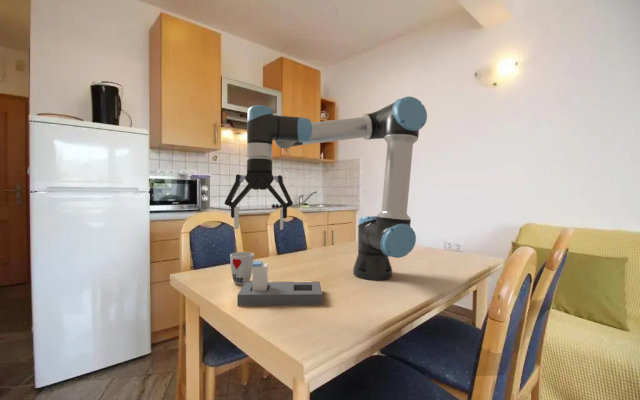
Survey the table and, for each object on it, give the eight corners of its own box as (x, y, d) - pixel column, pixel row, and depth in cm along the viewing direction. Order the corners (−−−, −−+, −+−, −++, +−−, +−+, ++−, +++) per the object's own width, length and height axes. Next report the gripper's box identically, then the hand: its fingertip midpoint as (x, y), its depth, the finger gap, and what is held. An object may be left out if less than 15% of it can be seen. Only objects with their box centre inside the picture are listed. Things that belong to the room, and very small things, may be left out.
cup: (225, 282, 103) (225, 254, 103) (245, 277, 109) (245, 250, 109) (237, 287, 98) (238, 257, 98) (258, 282, 104) (258, 254, 103)
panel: (319, 290, 96) (319, 280, 96) (322, 304, 84) (322, 293, 84) (245, 290, 95) (245, 281, 95) (237, 305, 83) (237, 294, 83)
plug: (267, 295, 91) (267, 260, 91) (265, 300, 87) (266, 264, 87) (254, 295, 91) (254, 260, 91) (252, 300, 87) (252, 264, 87)
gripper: (301, 161, 93) (300, 227, 94) (221, 159, 92) (221, 227, 92) (300, 158, 85) (300, 230, 86) (213, 156, 84) (213, 230, 85)
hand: (259, 229), depth 89 cm, fingers open, 13 cm apart
